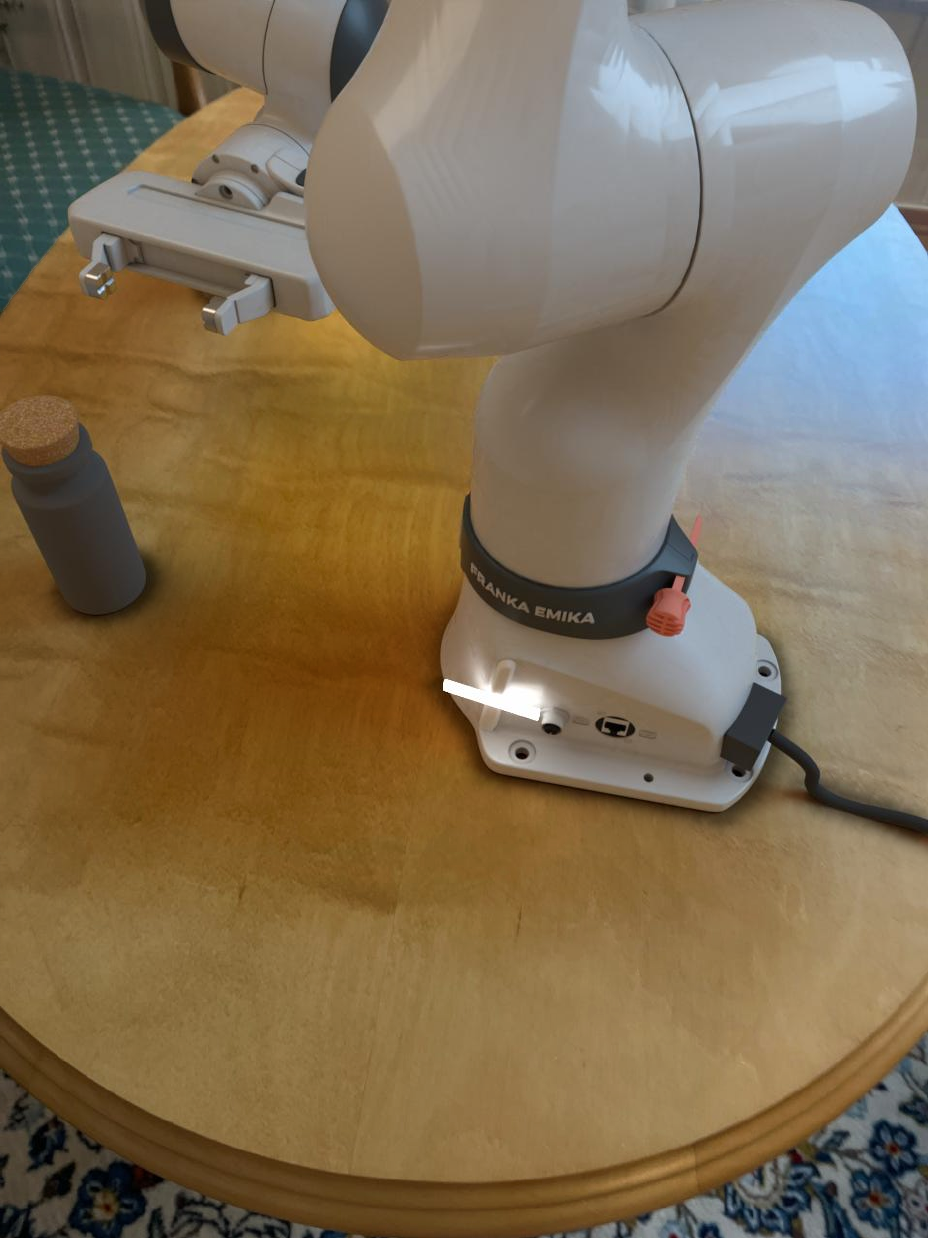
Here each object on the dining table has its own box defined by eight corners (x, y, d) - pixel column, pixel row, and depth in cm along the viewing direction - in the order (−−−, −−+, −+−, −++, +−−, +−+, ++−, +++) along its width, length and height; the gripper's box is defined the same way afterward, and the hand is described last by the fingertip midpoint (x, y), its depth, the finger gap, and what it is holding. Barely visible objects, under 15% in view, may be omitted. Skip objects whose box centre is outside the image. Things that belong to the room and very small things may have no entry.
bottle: (127, 622, 67) (59, 461, 55) (47, 608, 67) (-37, 445, 55) (160, 559, 70) (103, 395, 58) (84, 546, 71) (12, 381, 59)
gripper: (124, 130, 71) (2, 225, 64) (376, 192, 67) (279, 303, 59) (144, 210, 76) (34, 308, 69) (380, 273, 72) (291, 385, 64)
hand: (150, 306), depth 64 cm, fingers open, 8 cm apart
